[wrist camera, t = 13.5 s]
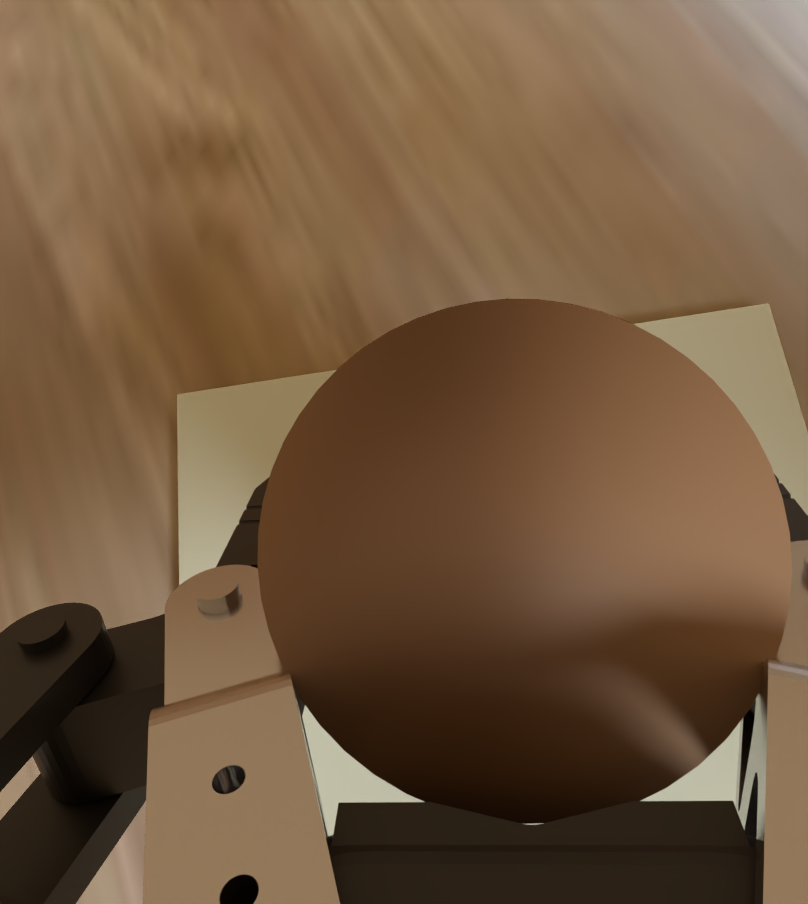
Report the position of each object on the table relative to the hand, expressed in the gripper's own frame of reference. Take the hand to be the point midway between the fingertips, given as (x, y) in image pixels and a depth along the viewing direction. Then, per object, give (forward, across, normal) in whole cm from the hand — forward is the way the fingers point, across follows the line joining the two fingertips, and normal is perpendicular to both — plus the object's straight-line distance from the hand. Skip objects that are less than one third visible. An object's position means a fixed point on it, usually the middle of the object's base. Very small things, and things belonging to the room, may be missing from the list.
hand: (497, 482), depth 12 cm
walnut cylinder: (+2, 0, +4) cm, 5 cm away
